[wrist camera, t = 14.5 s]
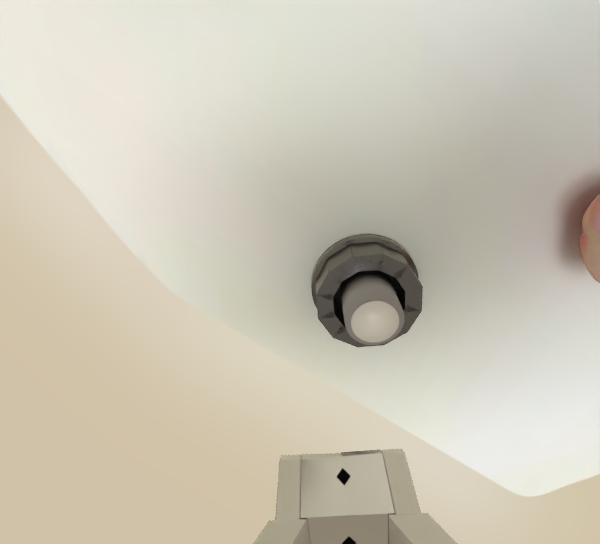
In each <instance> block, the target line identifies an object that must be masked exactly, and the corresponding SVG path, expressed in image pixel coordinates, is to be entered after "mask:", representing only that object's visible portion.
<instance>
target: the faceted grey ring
mask: <svg viewBox="0 0 600 544" xmlns="http://www.w3.org/2000/svg"><path fill="white" fill-rule="evenodd" d="M373 270H379V271H382V272H384V273H386V274H387V275H388V277H389V279H390V281H391V283H392V286H393V288H394V290H395V293H396V295H397V297H398V300H399V302H400V304H401V307H402V309H403V312H404V318H405V319H404V325H403V327H402V329H401V331H400V332H399V334H398V335H397V336H396V337H395V338H393V339H392V340H394V339H396V338H398V337H399V336H401V335H403V334H405V333H407V332H408V330H409V329H410V327H411V326H412V324H413V323H414V321H415V320H416V319H417V317H418V316H419V314H420V313H421V311H422V285H421V283H420V281H419V280H418V273H417V270H416V267H415V264H414V263H413V261H412V259H411V257H410V256H409V254H408V253H407V252H406V250H405V249H403V248H402V247H401V246H400V245H399V244H398V243H396V242H394V241H393V240H391V239H389V238H386V237H383V236H379V235H372V234H361V235H354V236H351V237H347V238H345V239H343V240H340V241H339V242H337V243H335V244H334V245H332V246H331V247H330V248H328V249H327V250H326V251H325V252H324V253H323V255H322V256H321V257H320V259H319V260H318V262H317V264H316V266H315V268H314V271H313V275H312V296H313V300H314V303H315V305H316V307H317V310H318V319H319V320H320V322H321V323H322V324H323V325H324V327H325V328H326V329H327V330H328V332H329V333H330V334H331V335H332V337H334V338H336V339H338V340H341V341H343V342H346V343H348V344H351V345H353V346H356V347H364V346H378V345H366V344H362V343H359V342H357V341H356V340H354V339H353V338H352V337H351V336H350V335H349V333H348V332H347V330H346V327H345V321H344V315H343V309H342V303H341V297H340V290H339V289H340V284H341V282H342V281H344V280H346V279H347V278H349V277H351V276H352V275H354V274H355V273H357V272H361V271H373ZM392 340H390V341H392ZM390 341H388V342H390ZM388 342H386V343H383V344H380V345H385V344H387V343H388Z"/></svg>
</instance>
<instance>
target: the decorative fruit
mask: <svg viewBox="0 0 600 544" xmlns="http://www.w3.org/2000/svg"><path fill="white" fill-rule="evenodd" d="M582 227H583V232H582V235H581V239H580V249H581V253H582V257H583V260H584V263H585V266H586V268H587V270H588V271H589V273H590V274H591V276H592V277H593V278H594V279H595V280H596V281H598V282H599V283H600V194H599V195H598V196H597V197H596V198H595V199H594V200H593V201H592V202H591V204H590V205H589V207H588V208H587V210H586V212H585V214H584V216H583V220H582Z"/></svg>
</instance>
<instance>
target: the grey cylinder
mask: <svg viewBox="0 0 600 544" xmlns="http://www.w3.org/2000/svg"><path fill="white" fill-rule="evenodd" d="M339 290H340V297H341V303H342V309H343V315H344V321H345V327H346V330H347V332H348V333H349V335H350V336H351V337H352V338H353V339H354V340H356V341H357V342H359V343H362V344H366V345H380V344H383V343H386V342H388V341H390V340H392V339H393V338H395V337H396V336H397V335H398V334H399V332H400V331H401V329H402V327H403V325H404V319H405V318H404V312H403V309H402V307H401V304H400V302H399V300H398V297H397V295H396V293H395V290H394V288H393V286H392V283H391V281H390V279H389V277H388V275H387V274H386V273H384V272H382V271H379V270H373V271H361V272H357V273H355V274H354V275H352V276H351V277H349V278H347V279H346V280H344V281H342V282H341V284H340V289H339Z"/></svg>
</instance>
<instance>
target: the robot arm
mask: <svg viewBox="0 0 600 544" xmlns="http://www.w3.org/2000/svg"><path fill="white" fill-rule="evenodd" d="M253 544H457V543H456V542H455V541H454V540H453V539H452V538H451V536H450V535H449V534H448V533H447V532H446V531H444V529H443V528H442V527H441V526H440V525H439V524H438V523H437V522H436V521H435V520H434V519H433V518H432V517H431V516H430V515H429V514H428V513H421V512H420V507H419V504H418V500H417V497H416V493H415V489H414V486H413V482H412V478H411V474H410V471H409V467H408V463H407V460H406V456H405V452H404V451H403V450H402V449H391V450H382V451H381V450H369V451H355V452H342V453H334V454H302V455H283V456H281V458H280V461H279V474H278V488H277V503H276V517H275V520H274V521H269V522H268V523H267V525H266V526H265V528H264V529H263V530H262V532H261V533H260V535H259V536H258V538H257V539H256V541H255V542H254V543H253Z"/></svg>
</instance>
